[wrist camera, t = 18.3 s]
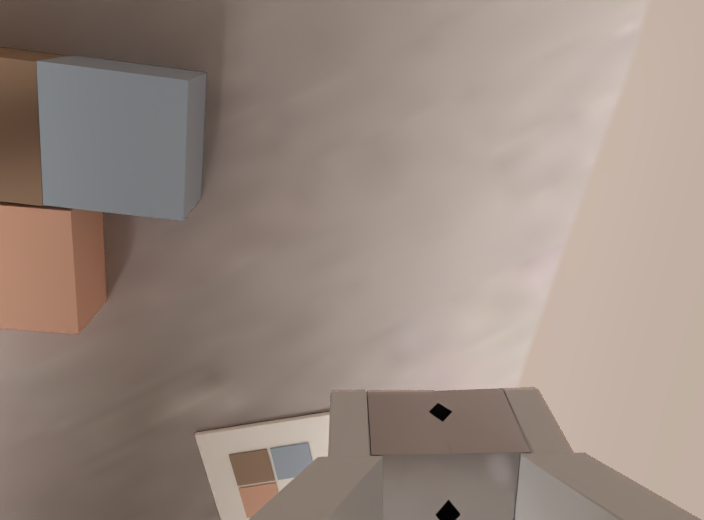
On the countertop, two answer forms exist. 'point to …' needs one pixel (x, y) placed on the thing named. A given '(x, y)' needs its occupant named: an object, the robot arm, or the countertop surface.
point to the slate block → (121, 136)
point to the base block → (20, 127)
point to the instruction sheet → (259, 460)
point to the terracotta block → (50, 267)
